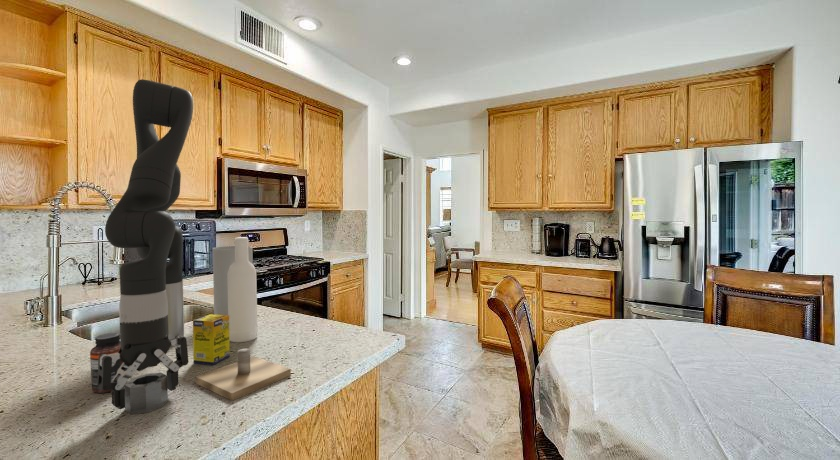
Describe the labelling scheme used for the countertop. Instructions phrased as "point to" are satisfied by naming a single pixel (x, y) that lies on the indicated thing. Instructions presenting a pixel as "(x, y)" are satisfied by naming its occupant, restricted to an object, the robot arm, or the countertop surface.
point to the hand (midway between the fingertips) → (147, 398)
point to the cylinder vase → (223, 275)
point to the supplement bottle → (106, 346)
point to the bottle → (242, 295)
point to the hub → (146, 393)
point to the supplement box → (211, 339)
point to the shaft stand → (242, 376)
